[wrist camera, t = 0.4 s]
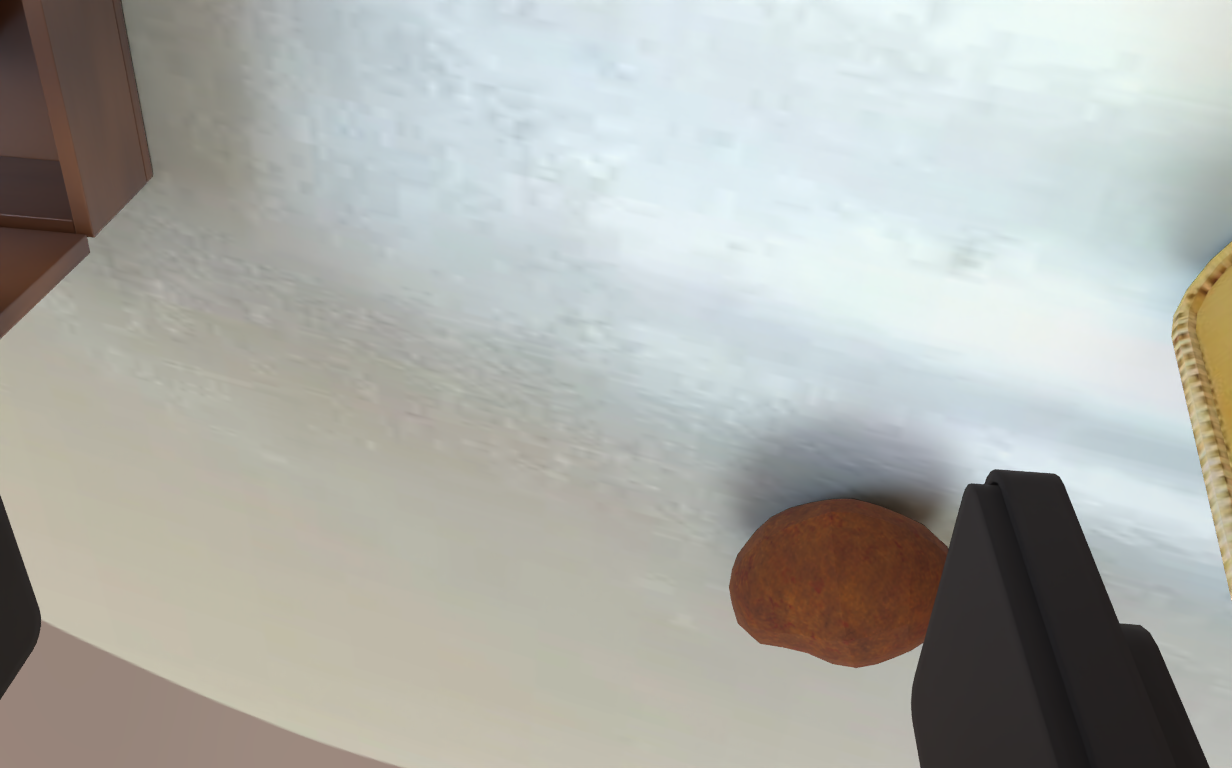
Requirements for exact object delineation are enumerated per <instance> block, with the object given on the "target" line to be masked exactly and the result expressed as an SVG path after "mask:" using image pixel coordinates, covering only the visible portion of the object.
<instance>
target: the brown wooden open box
mask: <svg viewBox="0 0 1232 768" xmlns="http://www.w3.org/2000/svg"><path fill="white" fill-rule="evenodd" d="M152 177H153V173H152V167H151V162H150V157H149V151H148V146H147V140H146V135H145V130H144V124H143V119H142V113H141V108H140V103H139V97H138V92H137V87H136V81H135V76H134V70H133V65H132V60H131V54H130V49H129V44H128V38H127V33H126V27H125V22H124V17H123V11H122V6H121V1H120V0H0V227H6V228H17V229H28V230H40V231H51V232H62V233H73V234H85V235H86V236H87V237H95V236H96V235H97V234H98V233H99V232H100V231H101V230H102V229H103V228H104V227H105V226H106V225H107V224H108V223H109V222H110V221H111V220H112V218H113V217H114V216H115V215H116V214H117V213H118V212H119V211H120V210H121V209H122V208H123V207H124V206H125V205H126V204H127V203H128V202H129V201H130V200H131V199H132V198H133V197H134V196H135V195H136V194H137V193H138V192H139V191H140V190H141V189H142V188H143V187H144V186H145V185H146V183H147V182H148V181H149V180H150V179H151V178H152Z"/></svg>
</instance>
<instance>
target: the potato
mask: <svg viewBox="0 0 1232 768" xmlns="http://www.w3.org/2000/svg"><path fill="white" fill-rule="evenodd" d="M947 553H948V547H947V546H946V545H945V544H944V543H943V542H942V541H940V540H939V539H938V538H937V537H936V536H935V535H934V534H933V533H932V532H931V531H930V530H929V529H927V528H926V527H925V526H924V525H923V524H921V523H919V522H917V521H914V520H912V519H910V518H908V517H906V516H904V515H902V514H899V513H897V512H894V511H892V510H889V509H887V508H884V507H881V506H879V505H876V504H872V503H868V502H864V501H861V500H857V499H829V500H823V501H817V502H811V503H807V504H803V505H799V506H795V507H791V508H789V509H787V510H785V511H783V512H780V513H778V514H776V515H774V516H772V517H771V518H769V519H768V520H767V521H766V522H765V523H764V524H763V525H762V526H761V527H759V528H758V529H757V530H756V532H755V533H754V534H753V535H752V537H751V538H750V539H749V540H748V541H747V543H746V544H745V545H744V547H743V548H742V549H741V551H740V552H739V553H738V555H737V558H736V560H735V563H734V566H733V569H732V573H731V579H730V585H729V590H730V595H731V601H732V606H733V609H734V612H735V615H736V619H737V622H738V624H739V625H740V626H741V627H742V628H743V629H745V630H746V631H747V632H748V633H749V634H750V635H751V636H752V637H753V638H754V639H755V640H757V641H758V642H759V643H760V644H766V645H772V646H778V647H784V648H788V649H793V650H797V651H801V652H805V653H808V654H811V655H813V656H815V657H818V658H820V659H822V660H825V661H827V662H830V663H832V664H837V665H842V666H848V667H854V668H858V667H864V666H869V665H875V664H878V663H881V662H884V661H887V660H889V659H892V658H895V657H897V656H899V655H902V654H904V653H906V652H909V651H911V650H913V649H914V648H916V647H917V646H919V645H920V644H922V643H924V639H925V636H926V632H927V628H928V624H929V621H930V617H931V613H932V609H933V606H934V602H935V598H936V594H937V591H938V587H939V583H940V579H941V576H942V572H943V568H944V564H945V561H946V557H947Z"/></svg>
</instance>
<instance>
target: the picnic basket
mask: <svg viewBox="0 0 1232 768" xmlns="http://www.w3.org/2000/svg"><path fill="white" fill-rule="evenodd" d="M1171 337H1172V341H1173V346H1174V350H1175V355H1176V359H1177V363H1178V368H1179V372H1180V376H1181V381H1182V385H1183V390H1184V394H1185V398H1186V403H1187V407H1188V411H1189V416H1190V420H1191V424H1192V429H1193V433H1194V438H1195V442H1196V446H1197V451H1198V455H1199V459H1200V464H1201V468H1202V473H1203V477H1204V481H1205V486H1206V490H1207V494H1208V499H1209V503H1210V508H1211V512H1212V516H1213V521H1214V525H1215V529H1216V534H1217V538H1218V543H1219V547H1220V551H1221V556H1222V560H1223V564H1224V569H1225V573H1226V578H1227V582H1228V586H1229V591H1230V595H1231V599H1232V241H1231V242H1230V243H1229V244H1228V245H1227V246H1226V247H1225V248H1224V249H1223V250H1222V251H1220V252H1219V253H1218V254H1217V255H1216V256H1215V257H1214V258H1213V259H1212V260H1211V261H1210V262H1209V263H1208V264H1207V265H1206V267H1205V268H1204V269H1203V270H1202V271H1201V273H1200V274H1199V275H1198V276H1197V278H1196V279H1195V280H1194V281H1193V283H1192V284H1191V285H1190V286H1189V288H1188V289H1187V290H1186V292H1185V294H1184V296H1183V298H1182V300H1181V302H1180V304H1179V306H1178V308H1177V310H1176V312H1175V314H1174V317H1173V326H1172V336H1171Z"/></svg>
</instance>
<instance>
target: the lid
mask: <svg viewBox="0 0 1232 768" xmlns="http://www.w3.org/2000/svg"><path fill="white" fill-rule="evenodd" d="M89 253H90V249H89V245H88V240H87V236H86V235H85V234H73V233H62V232H51V231H40V230H28V229H17V228H6V227H0V339H1V338H2V337H3V336H4V335H5V334H6V333H7V332H8V331H9V330H10V329H11V328H12V327H13V326H14V325H16V324H17V323H18V322H19V321H20V320H21V319H22V318H23V317H24V316H25V315H26V314H27V313H28V312H29V311H30V310H31V309H32V308H33V307H34V306H35V305H36V304H37V303H38V302H39V301H40V300H41V299H43V298H44V297H45V296H46V295H47V294H48V293H49V292H50V291H51V290H52V289H53V288H54V287H55V286H56V285H57V284H58V283H59V282H60V281H61V280H62V279H63V278H64V277H65V276H66V275H67V274H68V273H70V272H71V271H72V270H73V269H74V268H75V267H76V266H77V265H78V264H79V263H80V262H81V261H82V260H83V259H84V258H85V257H86V256H87V255H88V254H89Z"/></svg>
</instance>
